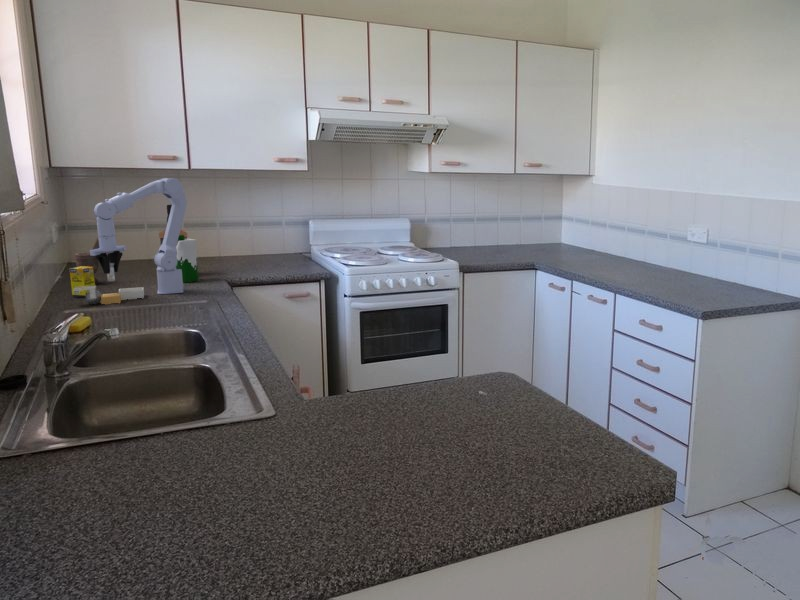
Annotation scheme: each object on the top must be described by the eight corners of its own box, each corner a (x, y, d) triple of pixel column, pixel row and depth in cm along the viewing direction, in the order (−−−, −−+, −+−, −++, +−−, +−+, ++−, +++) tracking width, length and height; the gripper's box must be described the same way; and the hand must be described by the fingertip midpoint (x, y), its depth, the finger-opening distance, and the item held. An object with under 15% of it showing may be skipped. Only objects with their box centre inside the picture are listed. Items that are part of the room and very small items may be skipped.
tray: (144, 294, 234) (143, 287, 234) (143, 298, 228) (143, 290, 227) (119, 296, 231) (119, 288, 231) (118, 300, 225) (118, 292, 224)
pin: (116, 280, 228) (114, 262, 227) (115, 281, 225) (114, 263, 224) (106, 280, 227) (105, 262, 226) (106, 281, 224) (104, 263, 223)
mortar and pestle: (109, 281, 264) (104, 235, 259) (108, 284, 256) (103, 236, 252) (79, 283, 259) (73, 236, 255) (77, 286, 251) (72, 238, 247)
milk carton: (172, 281, 263) (168, 234, 259) (192, 278, 269) (188, 233, 265) (182, 283, 257) (178, 236, 253) (202, 281, 263) (198, 234, 259)
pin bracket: (116, 297, 230) (116, 293, 230) (116, 299, 226) (115, 295, 225) (103, 298, 228) (103, 294, 228) (102, 300, 224) (102, 296, 224)
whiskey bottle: (193, 276, 276) (187, 204, 270) (173, 279, 269) (167, 205, 262) (179, 273, 282) (173, 203, 276) (160, 276, 275) (153, 204, 268)
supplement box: (85, 297, 230) (82, 268, 228) (72, 297, 231) (68, 268, 229) (96, 294, 236) (93, 266, 233) (83, 293, 237) (79, 266, 235)
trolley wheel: (102, 301, 222) (101, 285, 221) (101, 304, 217) (99, 287, 216) (77, 303, 219) (75, 286, 218) (75, 306, 214) (73, 289, 213)
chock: (121, 301, 224) (120, 293, 224) (120, 304, 220) (119, 295, 219) (102, 302, 222) (102, 294, 222) (101, 305, 218) (101, 297, 217)
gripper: (98, 238, 215) (102, 276, 218) (130, 234, 228) (134, 270, 231) (83, 237, 217) (88, 275, 220) (116, 233, 230) (120, 269, 233)
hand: (110, 272), depth 226 cm, fingers closed on pin, 3 cm apart
